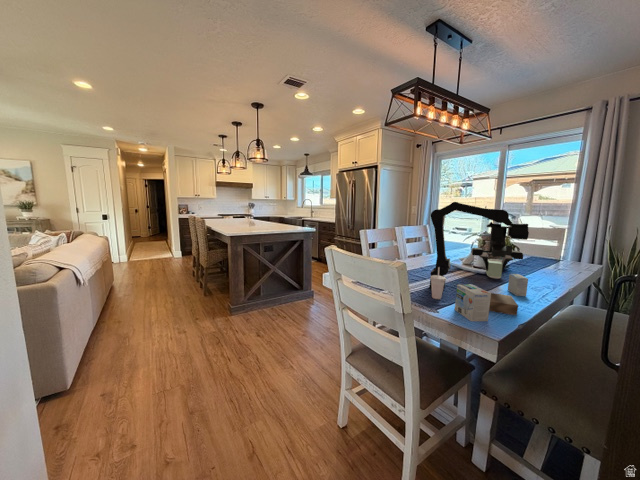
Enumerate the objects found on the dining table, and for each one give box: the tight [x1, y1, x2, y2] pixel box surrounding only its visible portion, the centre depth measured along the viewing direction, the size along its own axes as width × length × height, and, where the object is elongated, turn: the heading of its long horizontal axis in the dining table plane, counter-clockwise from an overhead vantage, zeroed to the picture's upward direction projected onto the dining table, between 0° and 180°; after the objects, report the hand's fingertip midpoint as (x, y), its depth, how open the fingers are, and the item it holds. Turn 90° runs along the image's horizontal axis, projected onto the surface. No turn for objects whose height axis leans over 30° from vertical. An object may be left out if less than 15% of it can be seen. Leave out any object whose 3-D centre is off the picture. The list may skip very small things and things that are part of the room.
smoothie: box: [430, 267, 447, 300], centre depth 116 cm, size 6×6×14 cm
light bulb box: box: [454, 283, 492, 322], centre depth 98 cm, size 11×7×11 cm, turn 5°
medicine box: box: [507, 273, 529, 297], centre depth 124 cm, size 8×4×9 cm, turn 168°
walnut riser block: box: [489, 292, 519, 316], centre depth 107 cm, size 12×12×4 cm
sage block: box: [485, 261, 503, 278], centre depth 117 cm, size 5×5×6 cm
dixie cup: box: [488, 258, 502, 280], centre depth 151 cm, size 8×8×10 cm
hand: (493, 271), depth 117 cm, fingers closed on sage block, 5 cm apart
